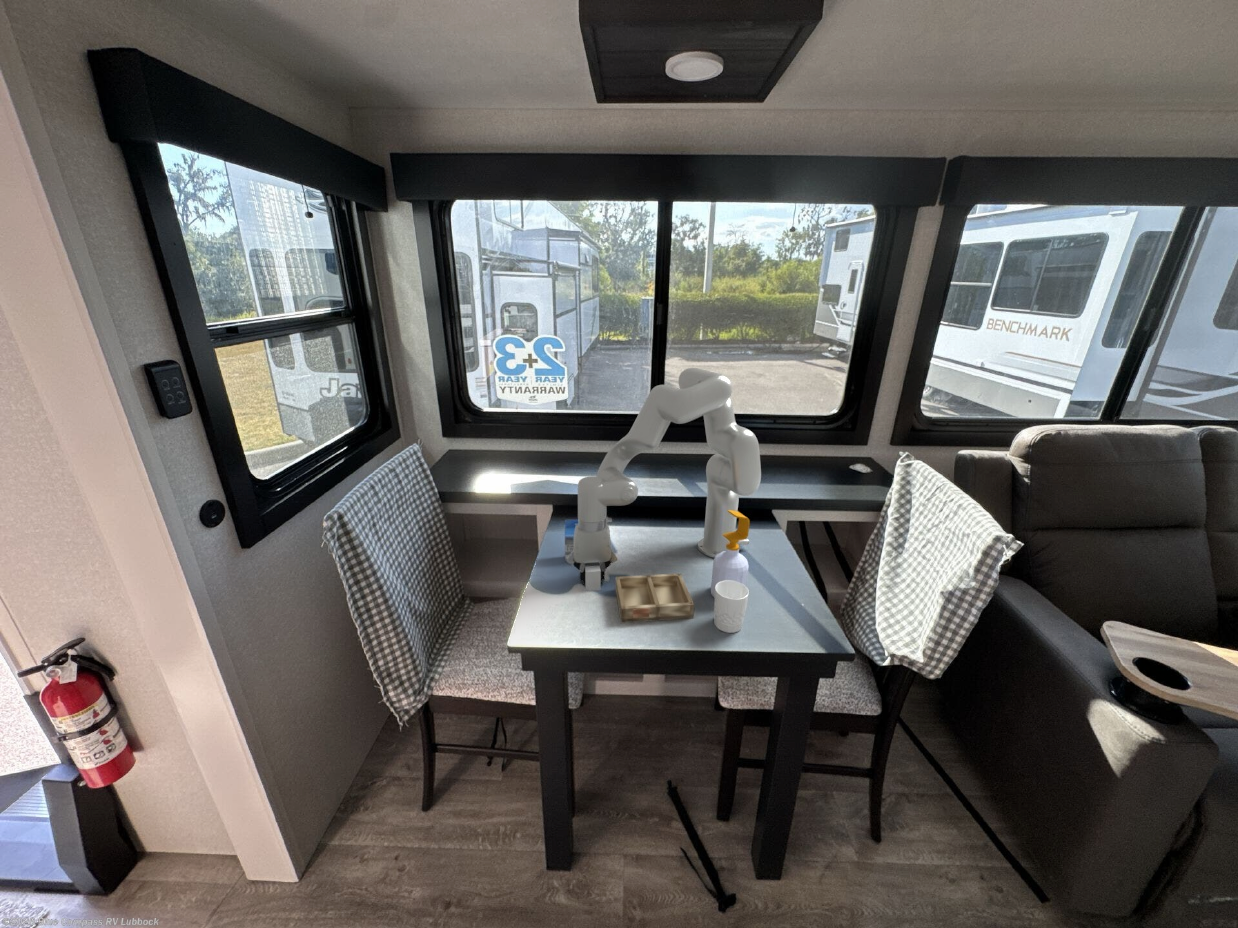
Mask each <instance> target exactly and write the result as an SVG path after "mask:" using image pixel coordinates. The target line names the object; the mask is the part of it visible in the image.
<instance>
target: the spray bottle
mask: <svg viewBox="0 0 1238 928" xmlns="http://www.w3.org/2000/svg"><path fill="white" fill-rule="evenodd" d="M728 512H729V513H730V514H732V515H733V516H734V517H737V519H738V525H737V529H735V531H734V532H728V533H724V534H723V536H724V537H725V538H726V539H728V541H730V543H727V545H726V551H723V552H721V553H719V554H717V555H716V557H715V558H713V562H712V563H713V564H712V573H711V584H710V594H711V596H712V597H713V598H714V599H715V586H716V584H717V583H718V582H721V581H725V580H731V581H736V582H739V583H741V584H743V585H745V586H746V587H747V583H748V573H749V567H750V566H749V562H748V559H747V558H746V557H745V556H744V555H743V554H742V553H740V545H738V544H736V543H737V542H739V540H744V539H748V536H749V531H750V524H751V523H750V522H751V521H750V519H749V518H748V517H747V516H745V515H744V514H743V513H741V512H740V511H739V510H737V511H733V510H728Z"/></svg>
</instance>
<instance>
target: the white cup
mask: <svg viewBox="0 0 1238 928" xmlns="http://www.w3.org/2000/svg"><path fill="white" fill-rule="evenodd" d="M749 593H750V591H749V588H748V587H747V585H746V586H745V585H743V584H741V583H739V582H736V581H731V580H725V581H721V582H718V583H717V584H716V586H715V598H714V604H713V610H714V611H713V614H714V617H713V618H714V619H713V620H714V621H713V622H714V625H715V627H716V629H718V630H720V631H721V632H724V633H728V634H735V633H737V632H740V631H741V629H742V628H743V622H744V619H745V616H746V615H745V614H746V612H747V611H746V610H747V605H748V599H749Z"/></svg>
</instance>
